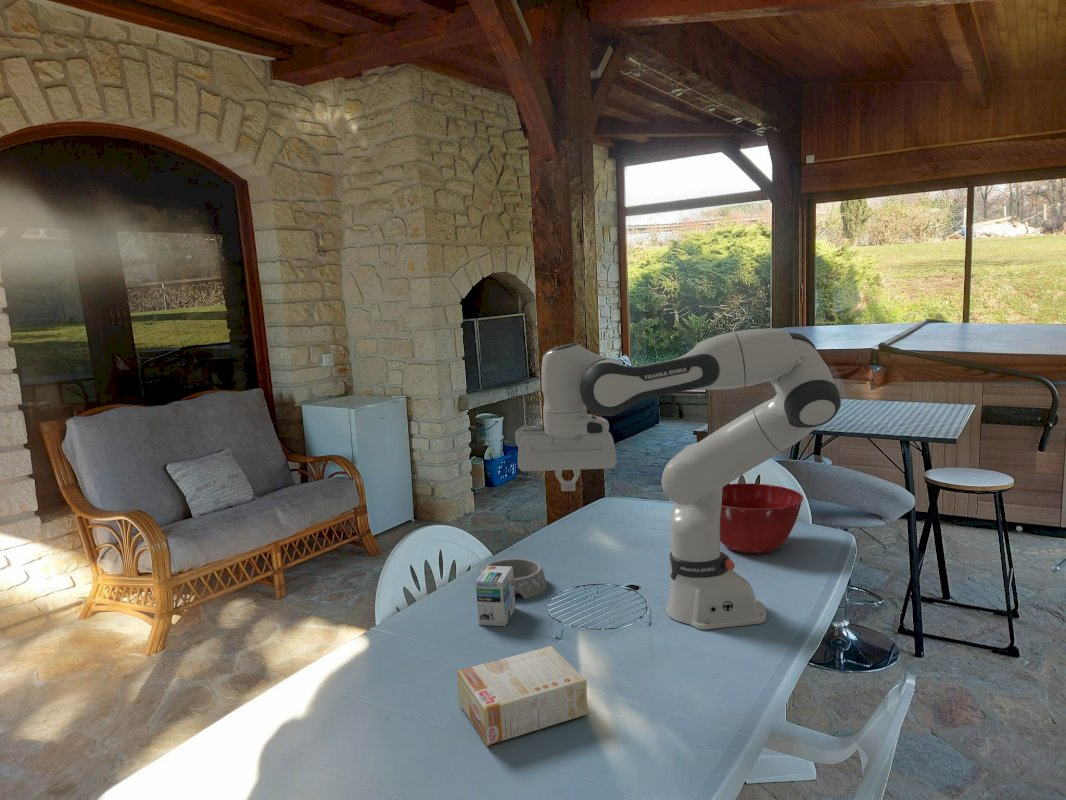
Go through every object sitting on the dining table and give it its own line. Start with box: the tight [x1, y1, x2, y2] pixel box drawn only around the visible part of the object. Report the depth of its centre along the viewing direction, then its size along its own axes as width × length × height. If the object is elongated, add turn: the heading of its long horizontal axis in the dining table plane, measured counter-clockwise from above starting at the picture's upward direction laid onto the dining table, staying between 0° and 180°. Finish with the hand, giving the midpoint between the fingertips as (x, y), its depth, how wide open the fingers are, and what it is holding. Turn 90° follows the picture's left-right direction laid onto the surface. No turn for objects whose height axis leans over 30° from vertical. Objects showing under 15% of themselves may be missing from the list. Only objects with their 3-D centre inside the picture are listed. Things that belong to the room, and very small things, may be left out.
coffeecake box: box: [456, 645, 589, 747], centre depth 134 cm, size 15×7×20 cm
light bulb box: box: [475, 566, 516, 627], centre depth 175 cm, size 11×7×11 cm, turn 168°
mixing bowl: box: [720, 483, 804, 555], centre depth 213 cm, size 28×28×16 cm
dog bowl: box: [479, 557, 548, 600], centre depth 193 cm, size 17×18×5 cm
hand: (568, 490), depth 151 cm, fingers closed
